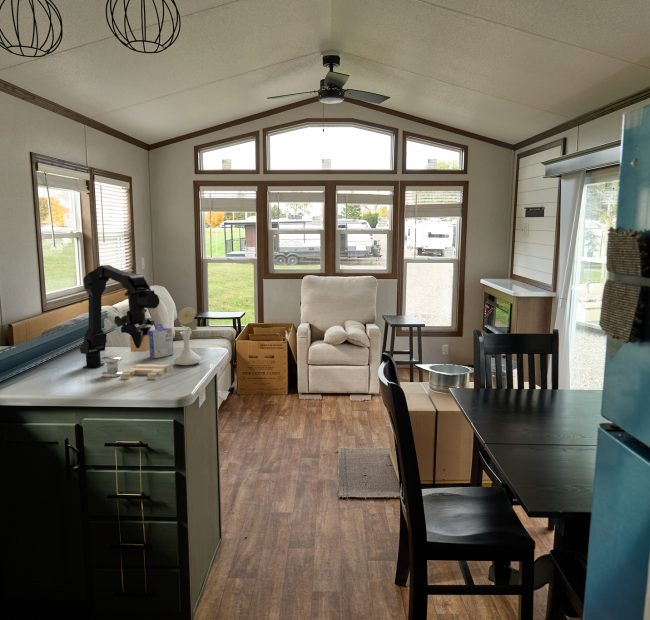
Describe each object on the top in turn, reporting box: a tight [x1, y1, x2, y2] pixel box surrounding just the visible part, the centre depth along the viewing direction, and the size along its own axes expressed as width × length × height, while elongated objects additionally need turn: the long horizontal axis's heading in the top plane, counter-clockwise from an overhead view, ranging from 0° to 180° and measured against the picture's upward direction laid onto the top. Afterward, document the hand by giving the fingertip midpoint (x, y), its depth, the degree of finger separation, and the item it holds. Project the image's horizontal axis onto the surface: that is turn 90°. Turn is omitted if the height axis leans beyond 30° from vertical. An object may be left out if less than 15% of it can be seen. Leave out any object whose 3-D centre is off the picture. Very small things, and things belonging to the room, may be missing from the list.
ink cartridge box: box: [148, 323, 175, 359], centre depth 259 cm, size 10×6×14 cm, turn 135°
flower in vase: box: [173, 306, 202, 366], centre depth 241 cm, size 13×11×25 cm
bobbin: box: [101, 355, 124, 379], centre depth 227 cm, size 8×8×7 cm
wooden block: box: [129, 334, 150, 353], centre depth 224 cm, size 4×6×6 cm, turn 86°
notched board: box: [120, 363, 172, 380], centre depth 228 cm, size 16×14×2 cm
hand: (140, 346), depth 224 cm, fingers closed on wooden block, 4 cm apart
